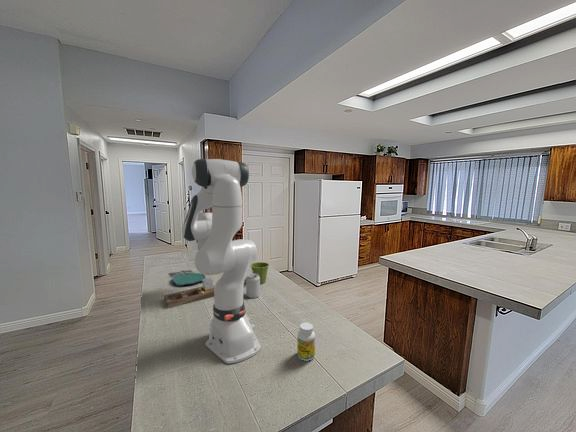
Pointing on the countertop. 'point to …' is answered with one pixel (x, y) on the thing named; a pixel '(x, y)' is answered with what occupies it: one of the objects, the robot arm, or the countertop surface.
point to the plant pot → (260, 270)
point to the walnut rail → (187, 296)
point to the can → (253, 285)
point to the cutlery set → (187, 278)
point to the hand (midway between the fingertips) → (207, 266)
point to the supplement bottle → (306, 342)
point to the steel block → (207, 284)
